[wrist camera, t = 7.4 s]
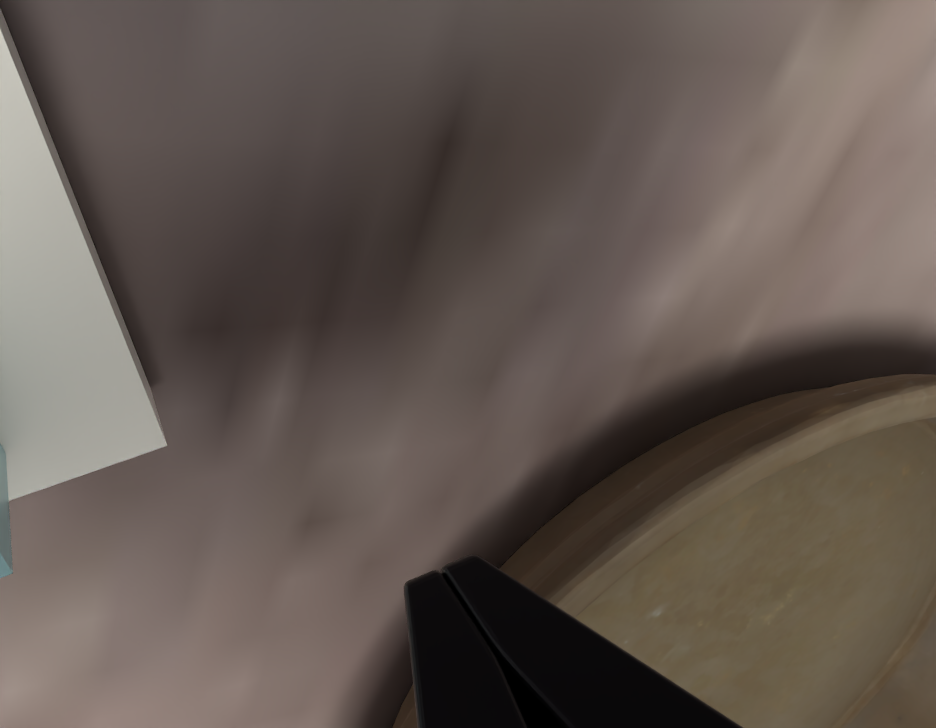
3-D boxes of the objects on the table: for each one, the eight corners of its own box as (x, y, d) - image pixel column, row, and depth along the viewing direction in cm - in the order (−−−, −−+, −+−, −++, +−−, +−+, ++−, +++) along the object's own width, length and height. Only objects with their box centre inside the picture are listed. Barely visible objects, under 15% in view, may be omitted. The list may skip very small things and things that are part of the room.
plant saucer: (906, 111, 24) (1063, 171, 20) (1031, 548, 44) (1119, 615, 41) (92, 856, 26) (111, 1026, 22) (575, 945, 46) (624, 1040, 43)
